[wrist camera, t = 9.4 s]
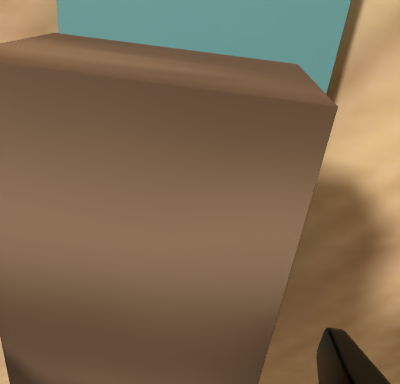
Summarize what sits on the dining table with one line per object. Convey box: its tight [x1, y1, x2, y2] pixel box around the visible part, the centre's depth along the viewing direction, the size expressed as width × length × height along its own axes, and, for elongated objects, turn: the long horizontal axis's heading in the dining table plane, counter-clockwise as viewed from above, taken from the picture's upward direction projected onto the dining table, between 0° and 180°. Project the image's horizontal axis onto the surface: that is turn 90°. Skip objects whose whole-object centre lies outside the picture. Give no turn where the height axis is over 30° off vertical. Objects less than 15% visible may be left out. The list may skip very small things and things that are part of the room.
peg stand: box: [57, 0, 351, 94], centre depth 15 cm, size 20×11×7 cm, turn 174°
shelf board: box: [0, 33, 338, 384], centre depth 10 cm, size 12×6×4 cm, turn 174°
